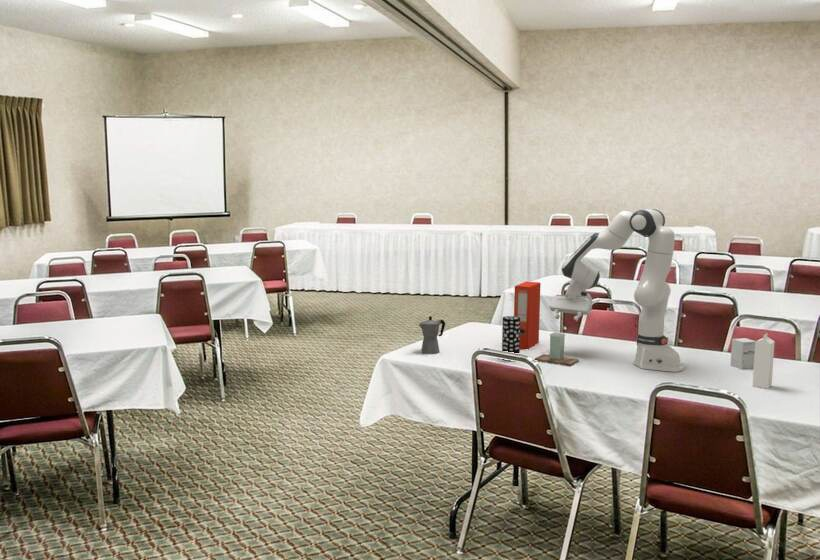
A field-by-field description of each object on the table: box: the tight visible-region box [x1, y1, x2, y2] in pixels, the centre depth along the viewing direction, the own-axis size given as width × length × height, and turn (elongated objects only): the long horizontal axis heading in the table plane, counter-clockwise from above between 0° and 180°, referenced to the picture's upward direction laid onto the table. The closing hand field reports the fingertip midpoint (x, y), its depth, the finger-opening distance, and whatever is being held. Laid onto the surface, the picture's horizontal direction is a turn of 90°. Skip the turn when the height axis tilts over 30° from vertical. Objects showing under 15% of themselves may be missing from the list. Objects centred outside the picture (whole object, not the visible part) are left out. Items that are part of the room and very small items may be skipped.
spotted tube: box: [501, 315, 521, 362], centre depth 350 cm, size 8×8×20 cm
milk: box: [752, 332, 776, 389], centre depth 303 cm, size 6×6×22 cm
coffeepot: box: [418, 316, 446, 355], centre depth 365 cm, size 15×9×18 cm, turn 121°
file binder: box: [513, 281, 541, 350], centre depth 376 cm, size 8×17×32 cm, turn 152°
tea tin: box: [549, 331, 566, 361], centre depth 345 cm, size 5×5×12 cm
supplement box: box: [730, 337, 757, 370], centre depth 334 cm, size 7×7×13 cm
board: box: [534, 353, 580, 367], centre depth 346 cm, size 18×10×1 cm, turn 55°
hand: (565, 319), depth 351 cm, fingers open, 8 cm apart
